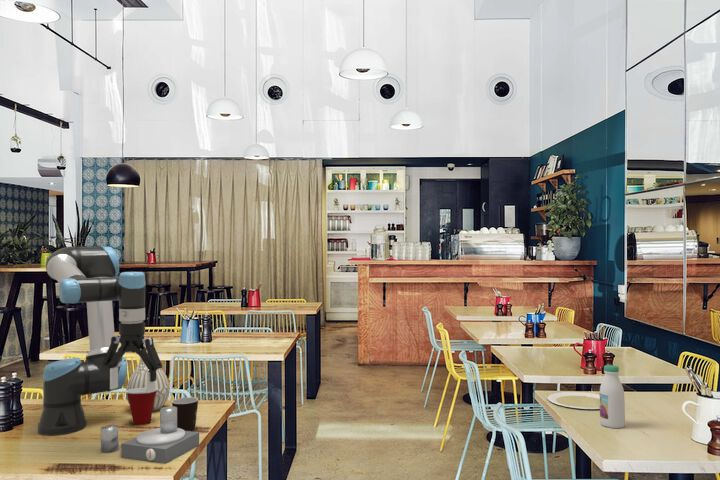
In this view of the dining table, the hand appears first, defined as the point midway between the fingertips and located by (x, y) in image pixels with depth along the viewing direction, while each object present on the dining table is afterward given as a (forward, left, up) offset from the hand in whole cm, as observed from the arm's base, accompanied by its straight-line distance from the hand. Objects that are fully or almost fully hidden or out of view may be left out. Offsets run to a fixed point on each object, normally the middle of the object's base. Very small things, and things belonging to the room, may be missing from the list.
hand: (132, 390), depth 177 cm
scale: (+10, +1, -18) cm, 21 cm away
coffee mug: (+4, +22, -18) cm, 28 cm away
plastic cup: (-16, +23, -18) cm, 33 cm away
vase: (-26, +38, -18) cm, 49 cm away
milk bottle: (+141, +68, -18) cm, 158 cm away
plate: (+132, +96, -19) cm, 165 cm away
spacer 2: (+10, +4, -13) cm, 17 cm away
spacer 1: (-6, -3, -18) cm, 19 cm away
